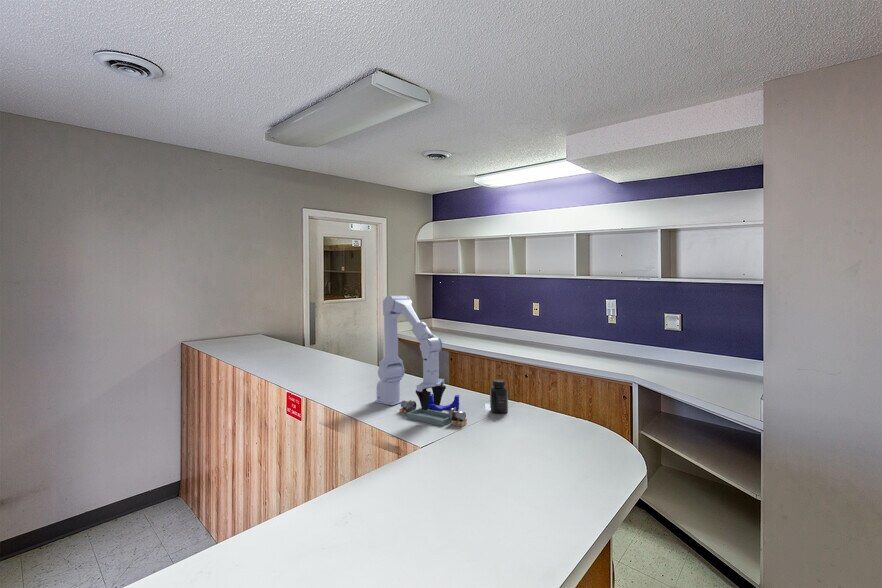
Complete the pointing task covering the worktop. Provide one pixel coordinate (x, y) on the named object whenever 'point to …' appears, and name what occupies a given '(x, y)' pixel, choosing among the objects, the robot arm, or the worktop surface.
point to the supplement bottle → (498, 397)
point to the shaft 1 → (407, 406)
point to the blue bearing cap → (440, 408)
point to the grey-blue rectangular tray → (430, 416)
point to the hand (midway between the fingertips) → (431, 407)
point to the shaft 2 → (457, 417)
